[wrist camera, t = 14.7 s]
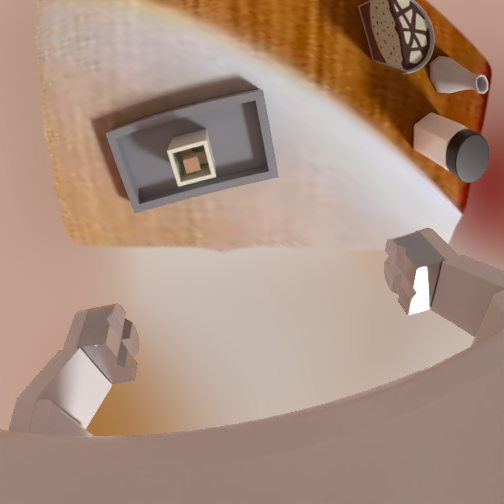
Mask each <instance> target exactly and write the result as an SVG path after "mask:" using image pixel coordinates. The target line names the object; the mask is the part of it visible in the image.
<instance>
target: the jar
mask: <svg viewBox="0 0 504 504" xmlns="http://www.w3.org/2000/svg"><path fill="white" fill-rule="evenodd" d="M414 150H415V151H417V152H419V153H420V154H422V155H423V156H425V157H427V158H428V159H430V160H431V161H433V162H435V163H436V164H438V165H439V166H441V167H443V168H444V169H446V170H447V171H449V172H450V173H451V174H453V175H454V176H456V177H457V178H459V179H460V180H462V181H463V182H466V183H470V182H473V181H476V180H477V179H478V178H480V176H481V175H482V174H483V173H484V171H485V169H486V167H487V164H488V160H489V147H488V144H487V141H486V140H485V138H484V137H483V136H482V135H480V134H478V133H476V132H473V131H471V130H469V129H468V128H467V127H466V126H464V125H462V124H459V123H457V122H455V121H452V120H450V119H447V118H445V117H442V116H440V115H437V114H435V113H432V112H431V113H429V114H428V115H427V116H425V117H424V118H423V119H421V120H420V121H419V122H417V123H416V124H415V125H414Z"/></svg>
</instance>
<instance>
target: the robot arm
mask: <svg viewBox="0 0 504 504" xmlns="http://www.w3.org/2000/svg"><path fill="white" fill-rule="evenodd" d="M385 251H386V252H387V253H388V255H389V257H388V258H387V260H386V261H385V264H384V274H385V279H386V282H387V284H388V286H389V287H390V289H391V291H392V292H395V293H397V294H399V299H398V302H399V303H400V305H401V306H402V308H403V309H404V311H405V312H406V314H407V315H408V316H409V315H412V314H415V313H418V312H421V311H424V310H427V309H430V308H431V310H432V311H434V312H436V313H437V314H439V315H441V316H442V317H444V318H445V319H447V320H449V321H450V322H452V323H454V324H455V325H457V326H458V327H460V328H461V329H463V330H465V331H467V332H468V333H469V334H471V335H473V336H474V337H475V338H474V341H473V342H472V345H471V347H470V348H468V349H466V350H464V351H462V352H460V353H458V354H456V355H453V356H451V357H449V358H447V359H445V360H443V361H440V362H438V363H436V364H434V365H431V366H429V367H427V368H424V369H422V370H420V371H417V372H415V373H413V374H410V375H407V376H405V377H402V378H400V379H397V380H395V381H392V382H389V383H387V384H384V385H381V386H378V387H375V388H373V389H370V390H367V391H364V392H361V393H358V394H355V395H352V396H349V397H346V398H342V399H339V400H336V401H332V402H329V403H325V404H322V405H318V406H314V407H311V408H307V409H303V410H300V411H295V412H291V413H287V414H283V415H279V416H274V417H269V418H265V419H260V420H255V421H250V422H244V423H239V424H233V425H227V426H221V427H214V428H208V429H201V430H192V431H184V432H174V433H163V434H150V435H132V436H94V435H92V434H91V433H89V432H88V431H87V430H86V428H87V426H88V424H89V422H90V421H91V419H92V418H93V416H94V414H95V413H96V411H97V409H98V408H99V406H100V404H101V403H102V401H103V399H104V398H105V396H106V395H107V393H108V391H109V390H110V388H111V386H112V384H113V383H121V382H127V381H134V380H135V379H136V369H137V362H136V360H135V359H134V356H135V355H136V354H137V353H138V351H139V337H138V333H137V330H136V328H135V326H134V325H133V323H132V322H130V321H129V320H127V319H125V316H126V312H125V310H124V309H123V307H122V306H121V305H120V304H113V305H108V306H102V307H97V308H91V309H87V310H82V311H78V312H77V313H76V314H75V316H74V319H73V322H72V325H71V327H70V330H69V333H68V336H67V339H66V342H65V345H64V348H63V350H60V351H59V352H58V353H57V354H56V355H55V356H54V357H53V358H52V359H51V360H50V361H49V363H48V364H47V365H46V366H45V367H44V368H43V369H42V370H41V371H40V373H39V374H38V375H37V376H36V377H35V378H34V379H33V381H32V382H31V383H30V384H29V385H28V386H27V387H26V389H25V390H24V391H23V392H22V393H21V394H20V396H19V397H18V398H17V401H16V404H15V408H14V412H13V415H12V419H11V423H10V427H9V431H7V430H0V504H504V271H503V270H500V269H498V268H495V267H493V266H490V265H488V264H485V263H483V262H480V261H477V260H475V259H472V258H470V257H467V256H465V255H460V256H458V254H457V253H456V252H455V251H454V250H453V249H452V248H451V247H450V246H449V245H448V244H447V243H446V242H445V241H444V240H443V239H442V238H441V237H440V236H439V235H438V234H437V233H436V232H435V231H434V230H433V229H430V228H426V229H422V230H419V231H416V232H414V233H410V234H406V235H403V236H399V237H395V238H391V239H388V240H387V243H386V250H385Z"/></svg>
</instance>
